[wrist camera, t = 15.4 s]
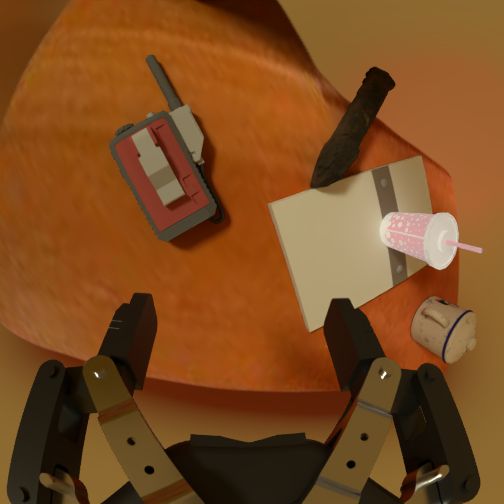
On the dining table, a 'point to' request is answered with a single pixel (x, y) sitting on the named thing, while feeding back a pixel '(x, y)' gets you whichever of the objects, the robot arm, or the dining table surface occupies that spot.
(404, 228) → the beverage cup
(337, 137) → the hand tool
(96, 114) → the dining table surface
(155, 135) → the walkie-talkie
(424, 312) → the teacup with lid
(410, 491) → the robot arm
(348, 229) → the floor panel
